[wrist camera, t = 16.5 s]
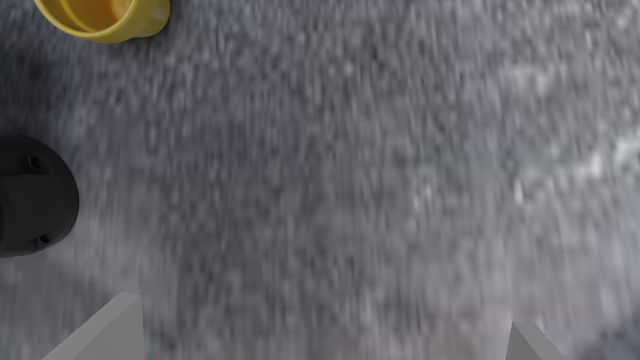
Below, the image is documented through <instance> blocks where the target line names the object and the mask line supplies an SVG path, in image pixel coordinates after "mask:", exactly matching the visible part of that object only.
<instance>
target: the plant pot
mask: <svg viewBox="0 0 640 360" xmlns="http://www.w3.org/2000/svg"><path fill="white" fill-rule="evenodd" d="M34 1H35V3H36V5H37V7H38V8H39V10H40V11H41V12H42V14H43V15H44V16H45V17H46V18H47V19H48V20H49V21H50V22H51V23H52V24H53V25H54V26H56V27H57V28H58V29H60V30H62V31H63V32H65V33H67V34H70V35H72V36H75V37H78V38H81V39H85V40H89V41H93V42H99V43H108V44H110V43H119V42H123V41H125V40H128V39H130V38H132V37H149V36H152V35H155V34H156V33H158V32H159V31H161V30H162V29H163V27H164V26H165V25H166V23H167V21H168V18H169V15H170V2H169V0H34Z"/></svg>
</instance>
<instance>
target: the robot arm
mask: <svg viewBox="0 0 640 360" xmlns="http://www.w3.org/2000/svg"><path fill="white" fill-rule="evenodd" d="M77 212H78V193H77V188H76V185H75V182H74V179H73V177H72V175H71V173H70V171H69V169H68V168H67V166H66V165H65V163H64V162H63V161H62V160H61V158H60V157H59V156H58V155H57V154H56V153H55V152H54V151H52V150H51V149H50V148H49V147H47V146H46V145H44V144H42V143H41V142H39V141H37V140H34V139H32V138H29V137H26V136H22V135H14V134H8V135H0V258H5V257H14V256H22V255H29V254H33V253H36V252H39V251H41V250H43V249H45V248H47V247H50V246H52V245H54V244H56V243H57V242H59V241H60V240H62V239H63V238H64V237H65V236H66V235H67V234H68V233H69V231H70V230H71V228H72V226H73V225H74V222H75V220H76V217H77ZM42 360H145V348H144V331H143V315H142V298H141V294H140V293H126V292H120V293H119V294H118V295H117V296H116V297H114V298H113V299H112V300H111V301H110V302H108V303H107V304H106V305H105V306H104V307H103V308H101V309H100V310H99V311H98V312H97V313H96V314H94V315H93V316H92V317H91V318H90V319H89V320H87V321H86V322H85V323H84V324H83V325H81V326H80V327H79V328H78V329H77V330H76V331H74V332H73V333H72V334H71V335H70V336H69V337H67V338H66V339H65V340H64V341H63V342H62V343H60V344H59V345H58V346H57V347H56V348H55V349H53V350H52V351H51V352H50V353H49V354H47V355H46V356H45V357H44V358H43V359H42ZM506 360H566V358H565V357H564V356H563V355H562V354H561V353H560V352H559V350H558V349H557V348H556V347H555V346H554V345H553V344H552V342H551V341H550V340H549V339H548V338H547V337H546V335H545V334H544V333H543V332H542V331H541V330H540V329H539V327H538V326H537V325H536V324H533V323H520V322H512V327H511V333H510V339H509V344H508V350H507V356H506Z"/></svg>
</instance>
